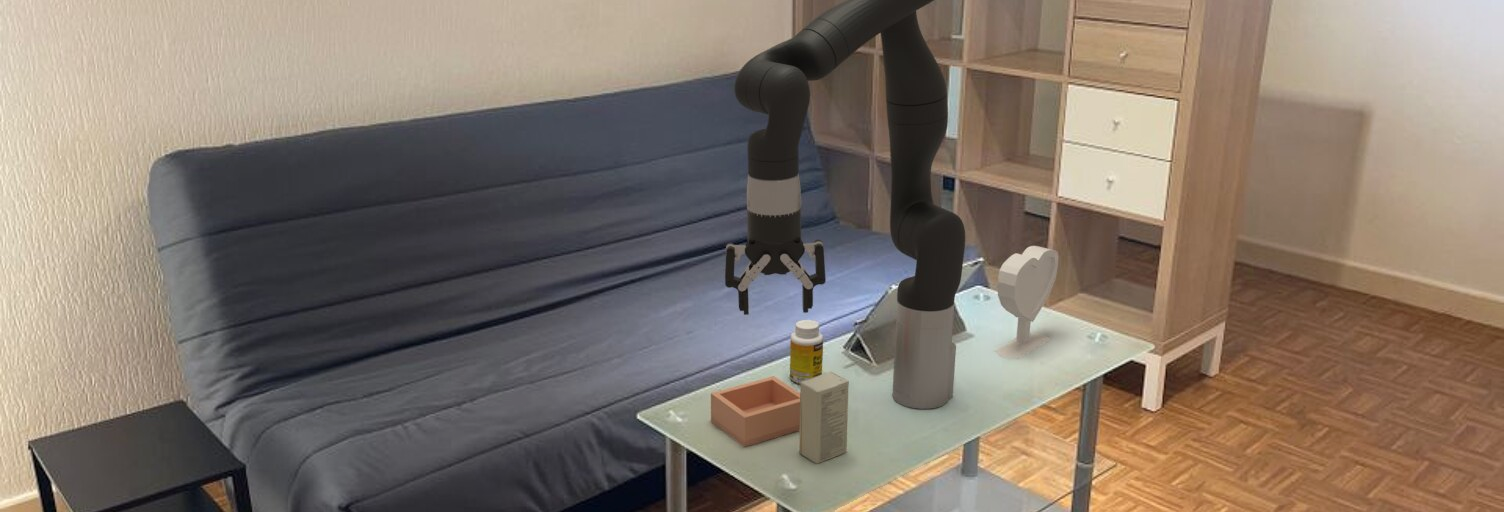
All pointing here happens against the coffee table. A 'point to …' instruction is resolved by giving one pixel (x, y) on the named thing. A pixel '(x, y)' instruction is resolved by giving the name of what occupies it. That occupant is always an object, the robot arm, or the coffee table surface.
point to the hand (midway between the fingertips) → (775, 311)
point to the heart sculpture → (1026, 295)
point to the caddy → (756, 410)
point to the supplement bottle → (806, 351)
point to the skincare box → (823, 417)
